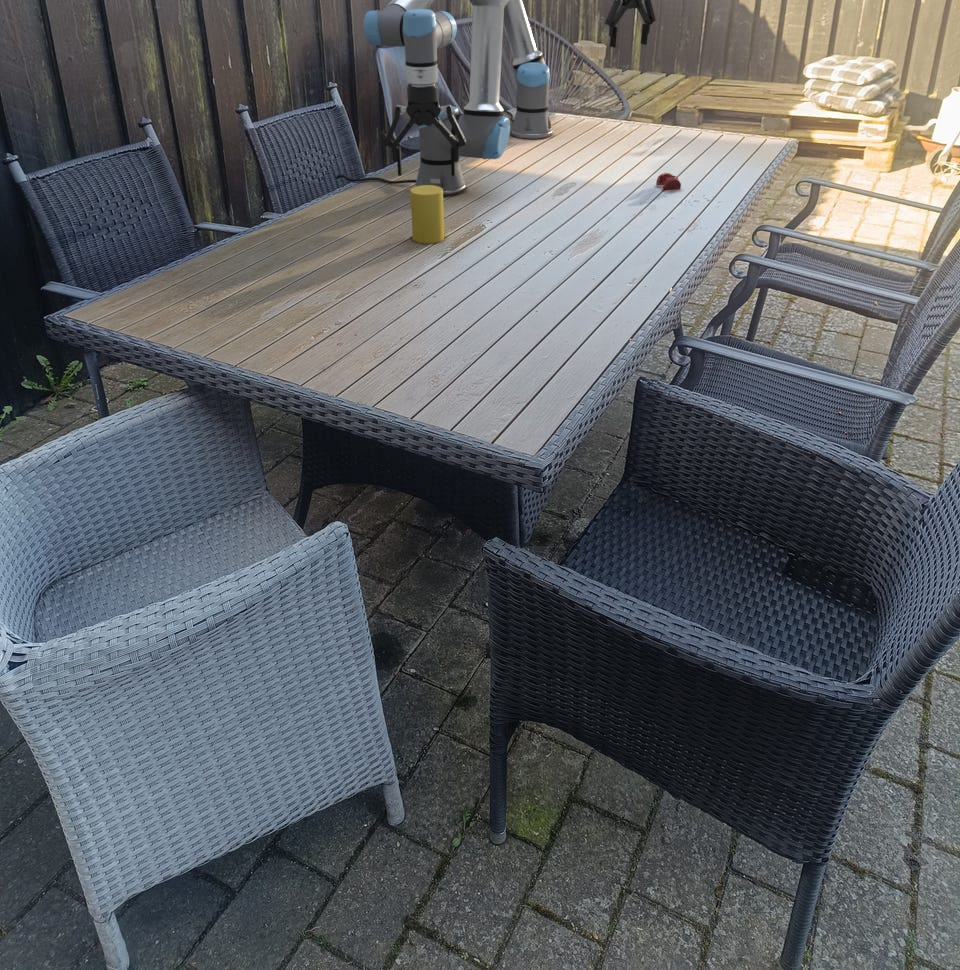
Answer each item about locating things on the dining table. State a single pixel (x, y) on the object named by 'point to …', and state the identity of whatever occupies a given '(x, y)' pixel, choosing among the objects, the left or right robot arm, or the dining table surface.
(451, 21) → the left robot arm
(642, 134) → the dining table surface
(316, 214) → the dining table surface
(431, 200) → the cylinder
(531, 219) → the dining table surface
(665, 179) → the dental model
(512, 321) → the dining table surface
